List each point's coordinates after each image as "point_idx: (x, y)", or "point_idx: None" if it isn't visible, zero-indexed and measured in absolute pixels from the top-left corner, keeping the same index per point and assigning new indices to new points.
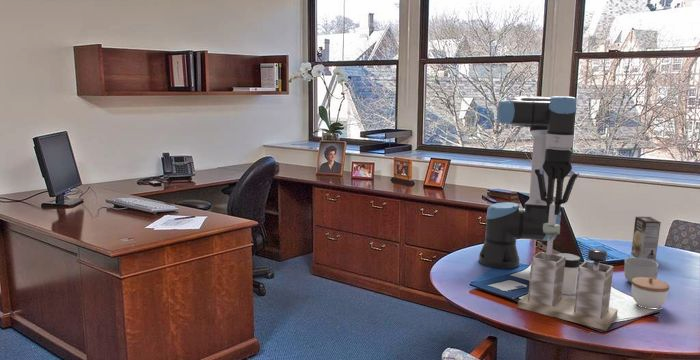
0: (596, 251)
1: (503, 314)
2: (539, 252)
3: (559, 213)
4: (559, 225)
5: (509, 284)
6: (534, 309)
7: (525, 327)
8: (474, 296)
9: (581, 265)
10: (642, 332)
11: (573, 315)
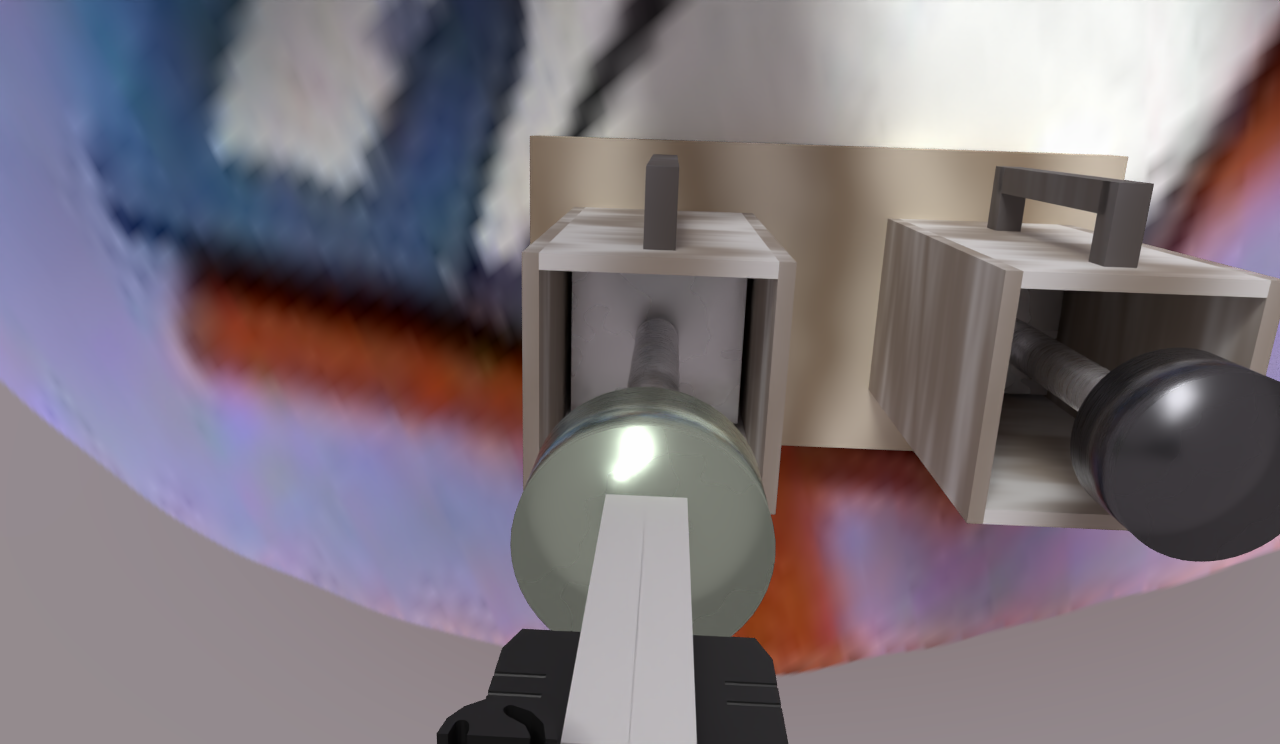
0: (1203, 488)
1: (510, 560)
2: (527, 290)
3: (764, 657)
4: (752, 495)
5: (321, 26)
6: None
7: None
8: (257, 409)
9: (986, 459)
10: None
11: (876, 447)
